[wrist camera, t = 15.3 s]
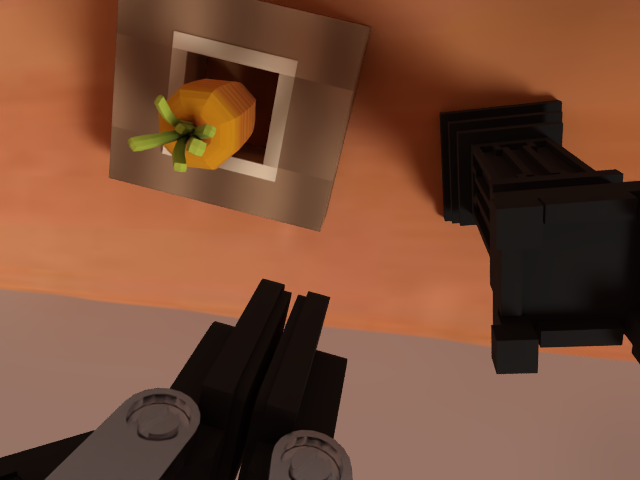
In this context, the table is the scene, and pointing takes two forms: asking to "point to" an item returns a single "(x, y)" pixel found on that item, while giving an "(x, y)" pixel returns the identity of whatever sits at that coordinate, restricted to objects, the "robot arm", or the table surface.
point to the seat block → (288, 111)
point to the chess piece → (544, 232)
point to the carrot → (202, 123)
